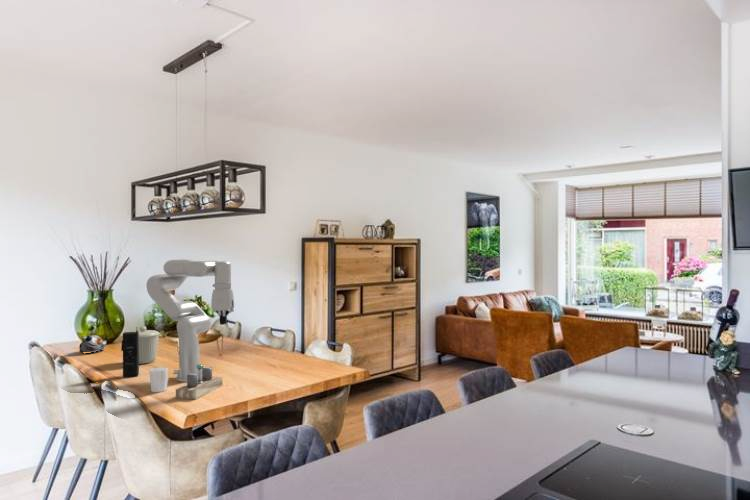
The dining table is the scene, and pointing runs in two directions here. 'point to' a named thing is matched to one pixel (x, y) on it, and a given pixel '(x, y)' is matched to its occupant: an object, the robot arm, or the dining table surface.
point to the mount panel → (199, 389)
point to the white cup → (159, 379)
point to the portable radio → (130, 354)
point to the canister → (147, 345)
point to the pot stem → (200, 373)
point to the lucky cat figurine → (92, 344)
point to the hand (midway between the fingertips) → (223, 324)
